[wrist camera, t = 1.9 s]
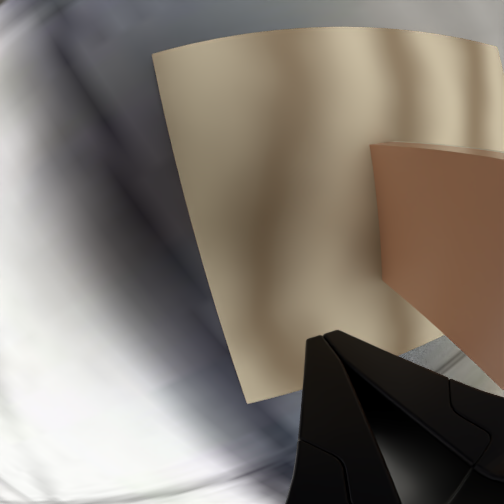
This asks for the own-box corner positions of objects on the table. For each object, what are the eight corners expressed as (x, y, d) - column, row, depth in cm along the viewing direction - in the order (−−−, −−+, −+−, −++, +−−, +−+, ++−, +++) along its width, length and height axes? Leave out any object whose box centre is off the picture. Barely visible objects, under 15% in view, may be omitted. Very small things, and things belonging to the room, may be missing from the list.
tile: (395, 140, 14) (565, 163, 5) (404, 272, 17) (528, 370, 8) (369, 144, 14) (544, 167, 5) (382, 280, 17) (502, 390, 8)
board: (487, 48, 14) (497, 46, 13) (497, 297, 21) (504, 302, 20) (155, 59, 13) (151, 54, 12) (245, 393, 19) (247, 403, 19)
